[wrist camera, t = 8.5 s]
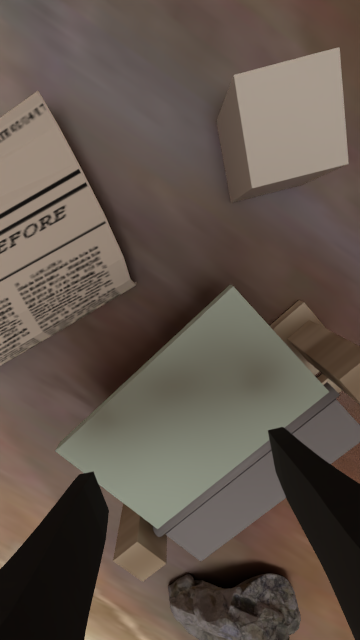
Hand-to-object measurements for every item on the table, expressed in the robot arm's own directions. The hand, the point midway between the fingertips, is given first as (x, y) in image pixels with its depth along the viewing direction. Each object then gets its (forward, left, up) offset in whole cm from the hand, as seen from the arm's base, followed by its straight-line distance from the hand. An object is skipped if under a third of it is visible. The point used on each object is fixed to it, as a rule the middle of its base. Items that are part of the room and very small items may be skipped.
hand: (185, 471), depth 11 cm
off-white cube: (-9, -13, -10) cm, 19 cm away
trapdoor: (-1, +2, -8) cm, 9 cm away
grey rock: (0, +24, -11) cm, 27 cm away
